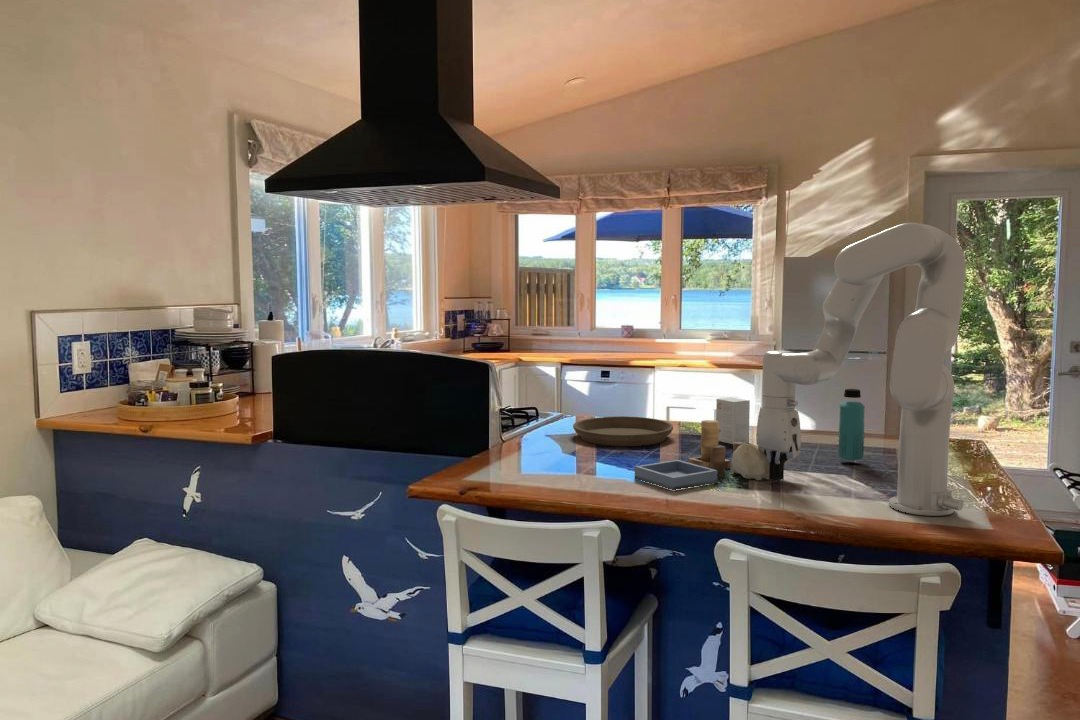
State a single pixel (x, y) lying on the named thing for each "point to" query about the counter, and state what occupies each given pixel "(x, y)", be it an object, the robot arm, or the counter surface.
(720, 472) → the peg
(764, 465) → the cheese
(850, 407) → the beverage bottle
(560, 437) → the counter surface
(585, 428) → the plant saucer
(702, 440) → the dowel
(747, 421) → the small box
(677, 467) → the tray
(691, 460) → the dowel socket
